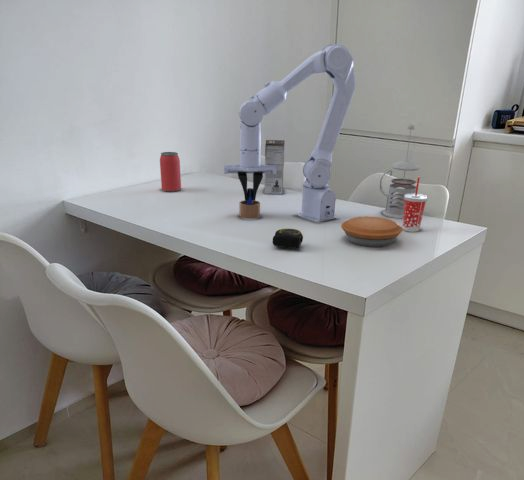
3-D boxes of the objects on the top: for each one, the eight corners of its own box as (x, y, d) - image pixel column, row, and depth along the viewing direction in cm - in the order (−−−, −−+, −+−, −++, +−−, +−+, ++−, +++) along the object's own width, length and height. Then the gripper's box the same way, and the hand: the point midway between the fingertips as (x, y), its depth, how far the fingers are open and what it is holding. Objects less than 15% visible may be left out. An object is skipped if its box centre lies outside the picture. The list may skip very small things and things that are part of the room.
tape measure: (271, 249, 131) (271, 234, 130) (278, 241, 137) (278, 226, 135) (298, 252, 130) (299, 237, 128) (304, 244, 136) (305, 229, 134)
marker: (253, 215, 157) (253, 188, 153) (250, 216, 155) (251, 189, 152) (248, 214, 157) (249, 187, 154) (245, 215, 156) (246, 188, 153)
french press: (414, 219, 158) (428, 127, 146) (374, 215, 161) (384, 125, 149) (417, 211, 166) (430, 123, 154) (378, 207, 169) (389, 121, 157)
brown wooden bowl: (264, 217, 156) (264, 203, 154) (248, 221, 153) (248, 206, 151) (251, 213, 160) (251, 199, 158) (235, 216, 157) (235, 201, 155)
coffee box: (264, 187, 191) (265, 139, 183) (282, 188, 191) (284, 139, 183) (264, 193, 183) (265, 143, 175) (283, 194, 183) (285, 144, 175)
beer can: (185, 189, 186) (183, 153, 180) (172, 193, 181) (170, 155, 175) (170, 187, 189) (168, 150, 183) (157, 190, 184) (155, 153, 178)
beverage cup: (413, 225, 152) (421, 174, 146) (426, 231, 148) (435, 178, 141) (395, 227, 150) (402, 175, 144) (407, 233, 146) (415, 179, 139)
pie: (359, 252, 131) (362, 232, 128) (329, 234, 143) (330, 215, 141) (413, 246, 136) (416, 226, 133) (379, 229, 148) (381, 211, 146)
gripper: (223, 151, 144) (224, 203, 150) (278, 152, 145) (276, 203, 151) (223, 147, 150) (224, 197, 156) (275, 147, 151) (274, 197, 157)
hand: (249, 199), depth 154 cm, fingers closed on marker, 1 cm apart
